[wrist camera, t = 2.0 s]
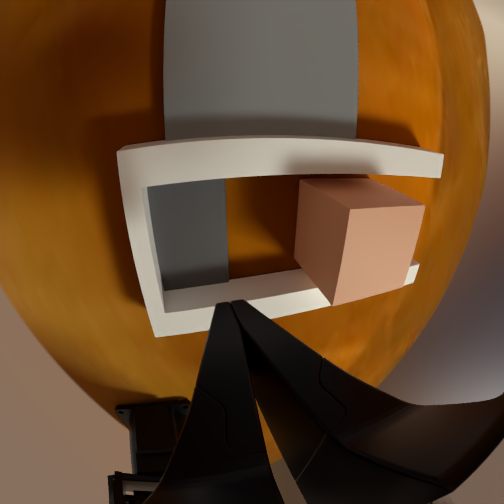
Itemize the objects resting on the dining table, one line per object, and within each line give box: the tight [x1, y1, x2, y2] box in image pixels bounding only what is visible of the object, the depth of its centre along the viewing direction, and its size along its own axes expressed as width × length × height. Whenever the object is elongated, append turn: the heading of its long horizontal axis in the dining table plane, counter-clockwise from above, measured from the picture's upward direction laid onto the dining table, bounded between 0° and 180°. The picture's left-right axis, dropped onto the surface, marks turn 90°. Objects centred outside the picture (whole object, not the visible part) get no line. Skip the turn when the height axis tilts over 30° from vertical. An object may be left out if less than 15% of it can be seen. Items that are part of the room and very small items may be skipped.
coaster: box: [163, 0, 358, 141], centre depth 9 cm, size 9×9×1 cm
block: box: [294, 178, 425, 306], centre depth 13 cm, size 4×4×4 cm
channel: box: [116, 135, 444, 337], centre depth 14 cm, size 9×17×2 cm, turn 90°
